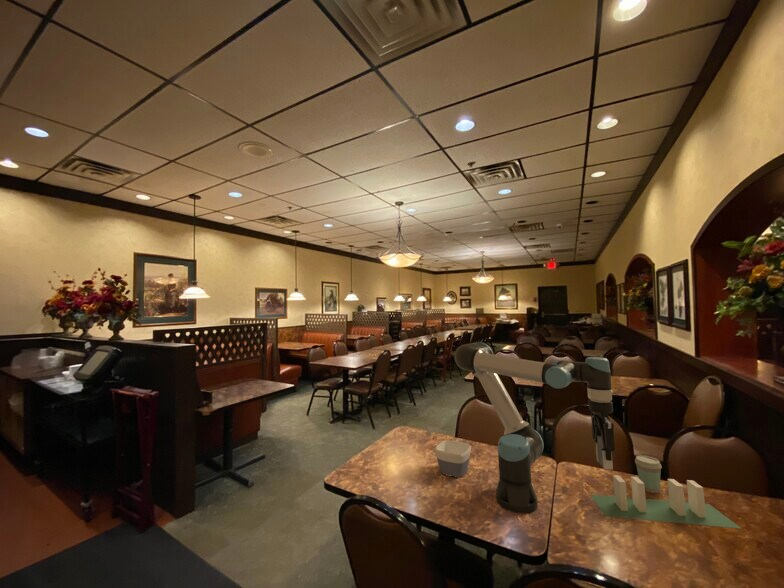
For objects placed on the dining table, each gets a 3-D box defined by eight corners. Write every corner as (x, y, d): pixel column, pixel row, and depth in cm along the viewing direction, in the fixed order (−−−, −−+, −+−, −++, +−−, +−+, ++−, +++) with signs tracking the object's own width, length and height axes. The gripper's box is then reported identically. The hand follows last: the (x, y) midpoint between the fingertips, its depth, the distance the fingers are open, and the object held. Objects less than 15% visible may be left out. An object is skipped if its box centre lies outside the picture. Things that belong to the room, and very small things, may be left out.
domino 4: (699, 517, 111) (696, 487, 111) (689, 508, 115) (686, 480, 116) (706, 517, 110) (703, 487, 111) (695, 509, 115) (692, 480, 116)
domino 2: (640, 512, 114) (638, 483, 115) (632, 504, 119) (630, 476, 120) (646, 512, 114) (644, 483, 115) (638, 504, 119) (636, 476, 119)
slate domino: (604, 469, 114) (602, 440, 115) (598, 462, 119) (596, 435, 120) (611, 469, 114) (609, 440, 114) (604, 463, 118) (602, 435, 119)
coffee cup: (669, 496, 124) (666, 464, 125) (644, 495, 125) (641, 463, 126) (655, 485, 132) (653, 455, 133) (632, 483, 134) (630, 454, 135)
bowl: (475, 468, 151) (474, 444, 152) (464, 483, 138) (463, 456, 139) (445, 461, 159) (444, 438, 160) (431, 474, 146) (431, 449, 147)
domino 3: (679, 515, 112) (676, 485, 112) (670, 507, 117) (667, 478, 117) (685, 516, 111) (683, 486, 112) (676, 507, 116) (673, 479, 117)
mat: (605, 517, 112) (605, 516, 112) (589, 495, 126) (589, 494, 126) (741, 529, 104) (741, 528, 104) (709, 505, 118) (708, 503, 118)
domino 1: (621, 510, 115) (619, 481, 116) (614, 502, 120) (612, 475, 121) (627, 511, 115) (625, 482, 116) (620, 503, 120) (618, 475, 121)
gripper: (623, 407, 108) (629, 478, 107) (600, 394, 126) (605, 455, 124) (599, 406, 110) (604, 476, 108) (579, 393, 127) (583, 454, 126)
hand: (604, 465), depth 116 cm, fingers closed on slate domino, 5 cm apart
